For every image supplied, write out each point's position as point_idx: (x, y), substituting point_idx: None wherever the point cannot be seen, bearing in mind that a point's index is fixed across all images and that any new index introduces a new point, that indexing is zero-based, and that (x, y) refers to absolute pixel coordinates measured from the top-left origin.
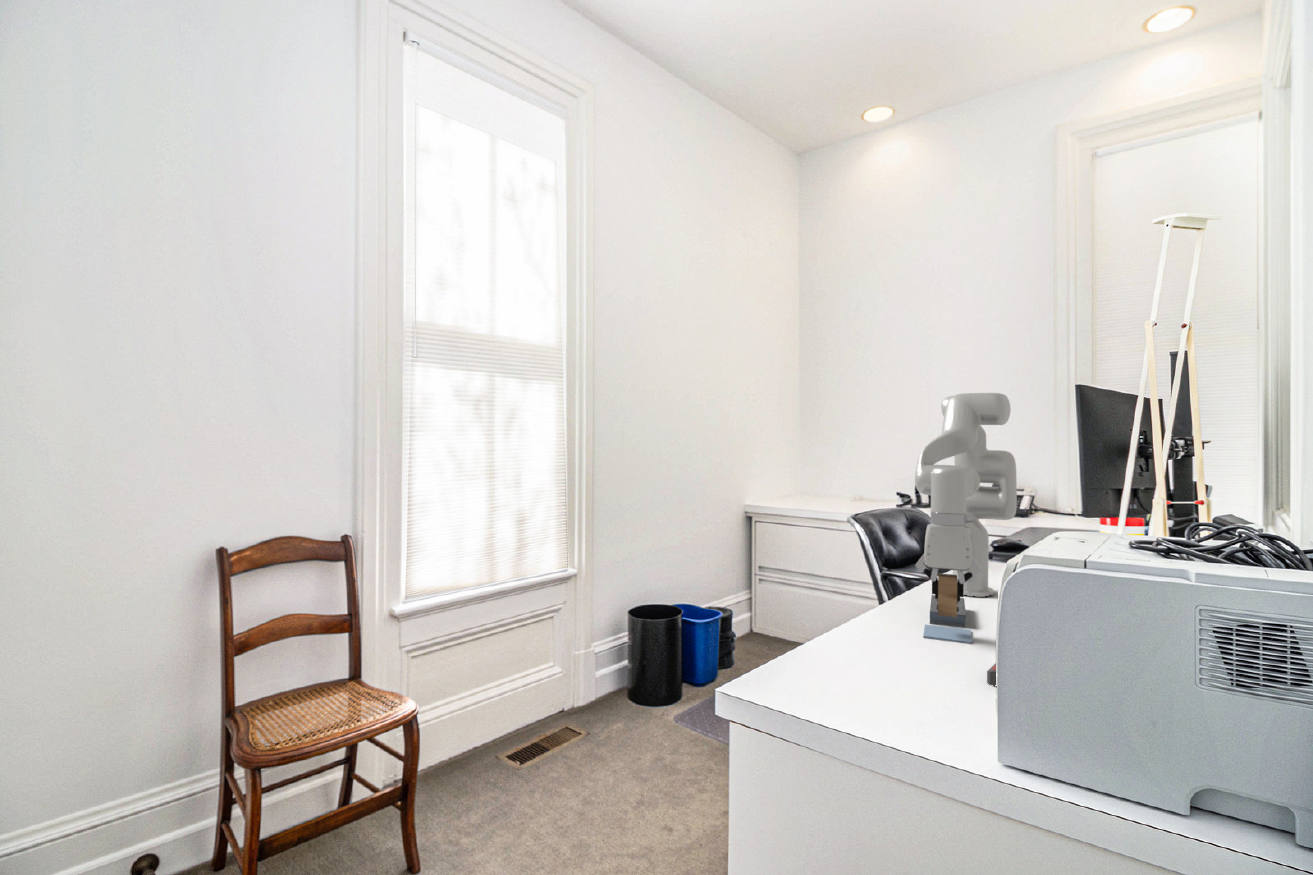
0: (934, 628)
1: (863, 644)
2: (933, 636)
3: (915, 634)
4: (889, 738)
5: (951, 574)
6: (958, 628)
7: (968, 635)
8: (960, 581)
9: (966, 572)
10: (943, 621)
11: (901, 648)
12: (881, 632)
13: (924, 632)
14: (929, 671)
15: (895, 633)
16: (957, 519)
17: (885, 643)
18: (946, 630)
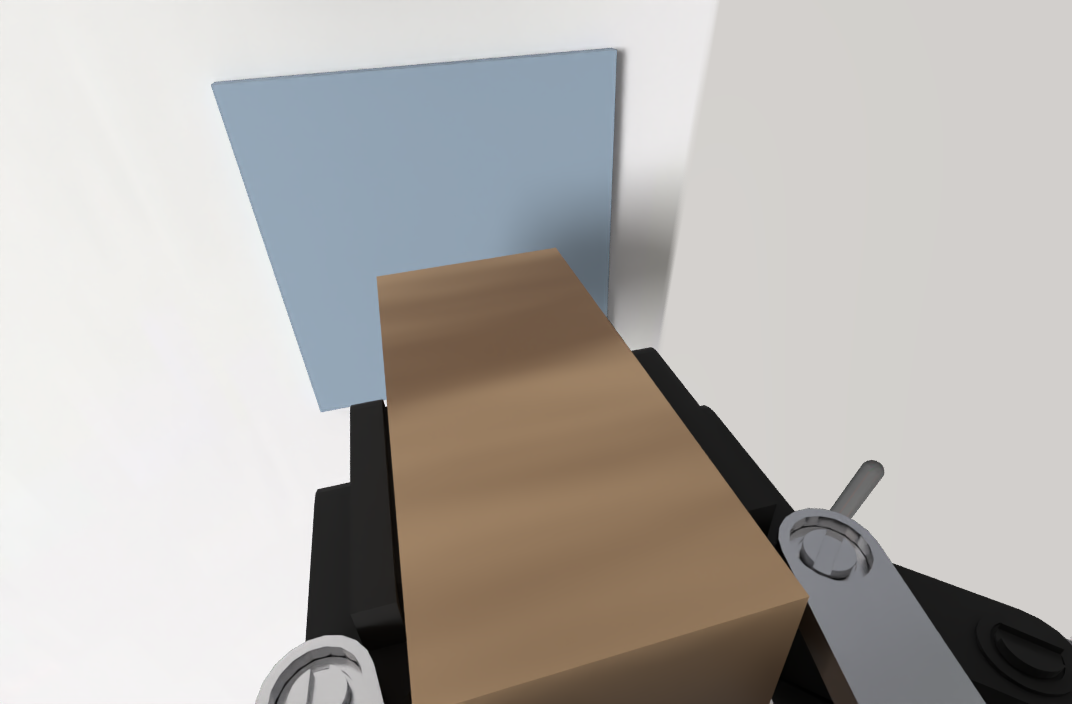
0: (336, 185)
1: (86, 665)
2: (382, 385)
3: (246, 366)
4: None
5: (702, 634)
6: (521, 60)
7: (593, 232)
8: None
9: (1004, 694)
10: None
11: (282, 604)
12: (11, 458)
13: (301, 338)
14: None
15: (112, 423)
16: None
17: (174, 597)
18: (436, 190)
